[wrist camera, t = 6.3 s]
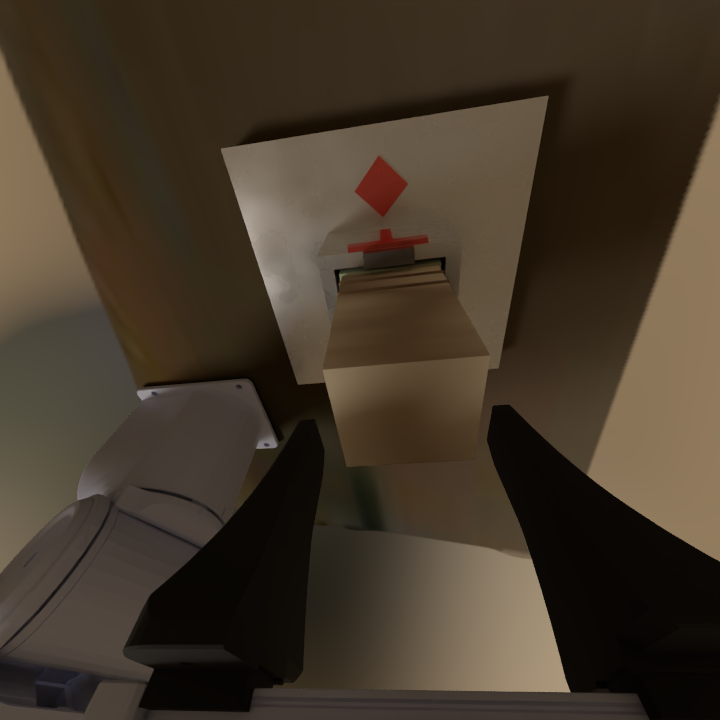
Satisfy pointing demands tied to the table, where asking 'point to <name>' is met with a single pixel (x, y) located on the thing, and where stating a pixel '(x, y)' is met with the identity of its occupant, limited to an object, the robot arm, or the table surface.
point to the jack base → (390, 213)
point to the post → (404, 367)
